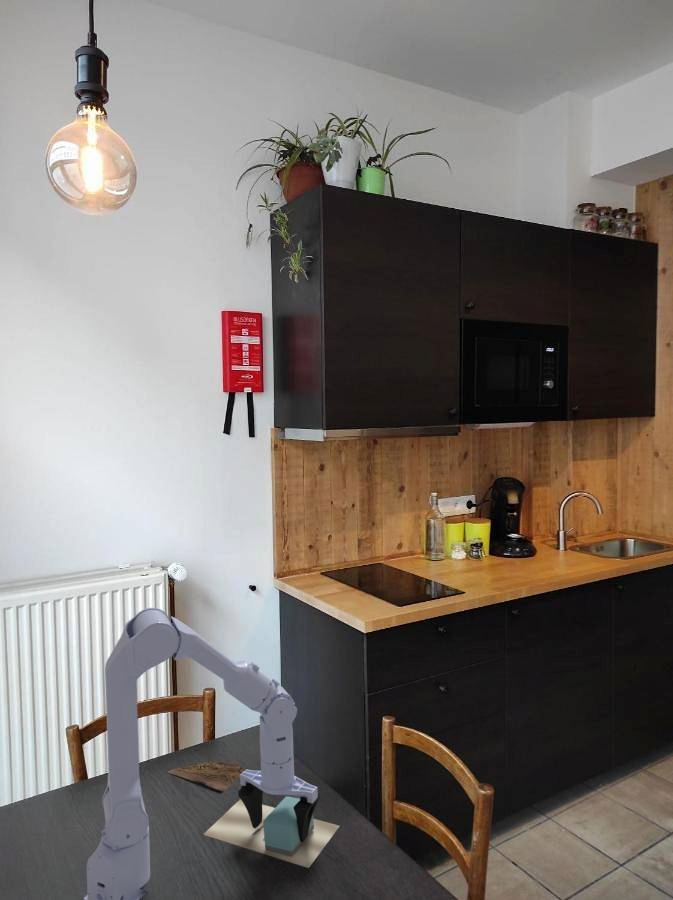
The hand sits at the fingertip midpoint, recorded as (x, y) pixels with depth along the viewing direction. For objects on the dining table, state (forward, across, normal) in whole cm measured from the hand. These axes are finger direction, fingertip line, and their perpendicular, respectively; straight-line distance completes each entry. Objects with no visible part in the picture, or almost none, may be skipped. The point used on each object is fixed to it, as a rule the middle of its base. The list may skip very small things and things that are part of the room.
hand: (279, 831), depth 117 cm
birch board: (+2, +2, -1) cm, 3 cm away
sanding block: (+1, -2, 0) cm, 2 cm away
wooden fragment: (+3, +21, -14) cm, 26 cm away
